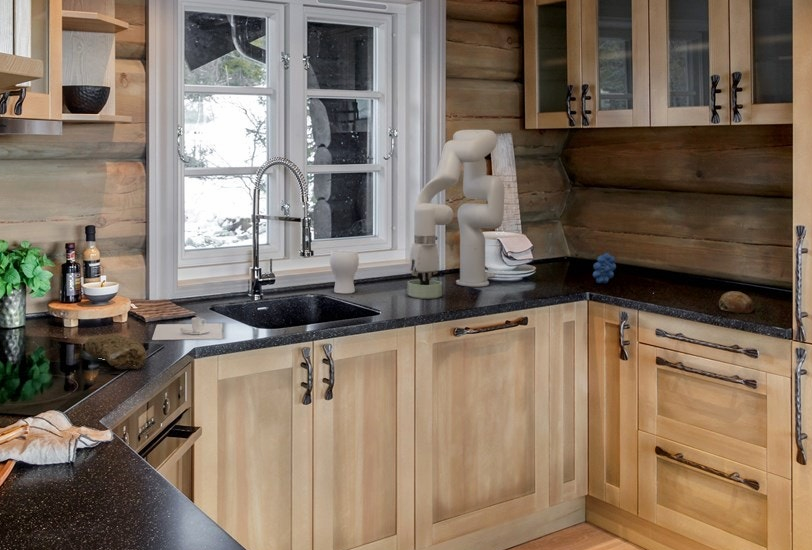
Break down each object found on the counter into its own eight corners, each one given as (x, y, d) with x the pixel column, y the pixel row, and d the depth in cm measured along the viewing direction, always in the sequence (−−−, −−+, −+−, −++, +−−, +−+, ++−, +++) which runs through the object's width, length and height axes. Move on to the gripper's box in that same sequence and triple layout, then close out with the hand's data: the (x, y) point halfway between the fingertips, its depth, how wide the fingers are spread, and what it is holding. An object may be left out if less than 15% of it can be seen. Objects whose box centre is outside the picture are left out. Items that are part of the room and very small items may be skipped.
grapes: (606, 280, 333) (606, 250, 333) (620, 283, 327) (620, 252, 327) (584, 283, 328) (585, 252, 328) (598, 285, 322) (598, 254, 322)
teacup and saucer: (179, 335, 243) (179, 321, 243) (181, 329, 251) (181, 315, 251) (210, 335, 243) (210, 321, 243) (210, 329, 251) (210, 315, 251)
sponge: (152, 373, 209) (132, 339, 226) (148, 345, 207) (128, 313, 224) (100, 388, 204) (83, 353, 222) (95, 360, 202) (78, 326, 219)
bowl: (428, 292, 311) (428, 278, 311) (449, 297, 300) (449, 283, 300) (400, 294, 305) (400, 281, 305) (421, 300, 294) (421, 286, 294)
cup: (358, 289, 316) (358, 249, 316) (358, 294, 306) (358, 253, 306) (330, 289, 317) (330, 249, 317) (329, 294, 307) (329, 253, 307)
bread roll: (716, 318, 280) (708, 297, 278) (737, 303, 283) (729, 282, 281) (741, 324, 270) (734, 303, 269) (763, 309, 273) (755, 287, 272)
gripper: (435, 238, 309) (435, 287, 309) (401, 240, 302) (401, 291, 302) (448, 240, 302) (448, 291, 302) (414, 242, 295) (413, 294, 296)
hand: (424, 291), depth 302 cm, fingers closed
